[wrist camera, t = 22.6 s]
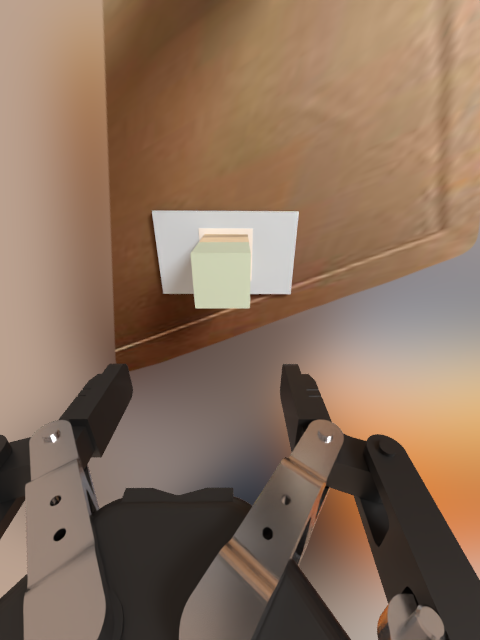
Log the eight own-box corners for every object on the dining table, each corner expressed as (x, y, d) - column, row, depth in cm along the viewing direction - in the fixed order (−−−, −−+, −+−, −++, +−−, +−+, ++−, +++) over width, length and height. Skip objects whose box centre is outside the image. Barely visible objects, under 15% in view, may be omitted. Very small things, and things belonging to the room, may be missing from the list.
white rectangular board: (153, 210, 36) (151, 210, 35) (297, 211, 36) (299, 211, 35) (164, 291, 41) (163, 293, 40) (289, 292, 41) (290, 294, 40)
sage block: (198, 242, 31) (190, 253, 25) (248, 242, 31) (250, 253, 26) (202, 289, 34) (195, 308, 28) (247, 289, 34) (249, 308, 28)
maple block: (204, 233, 36) (199, 241, 31) (247, 234, 36) (249, 242, 31) (206, 275, 39) (201, 289, 34) (246, 275, 39) (247, 289, 34)
